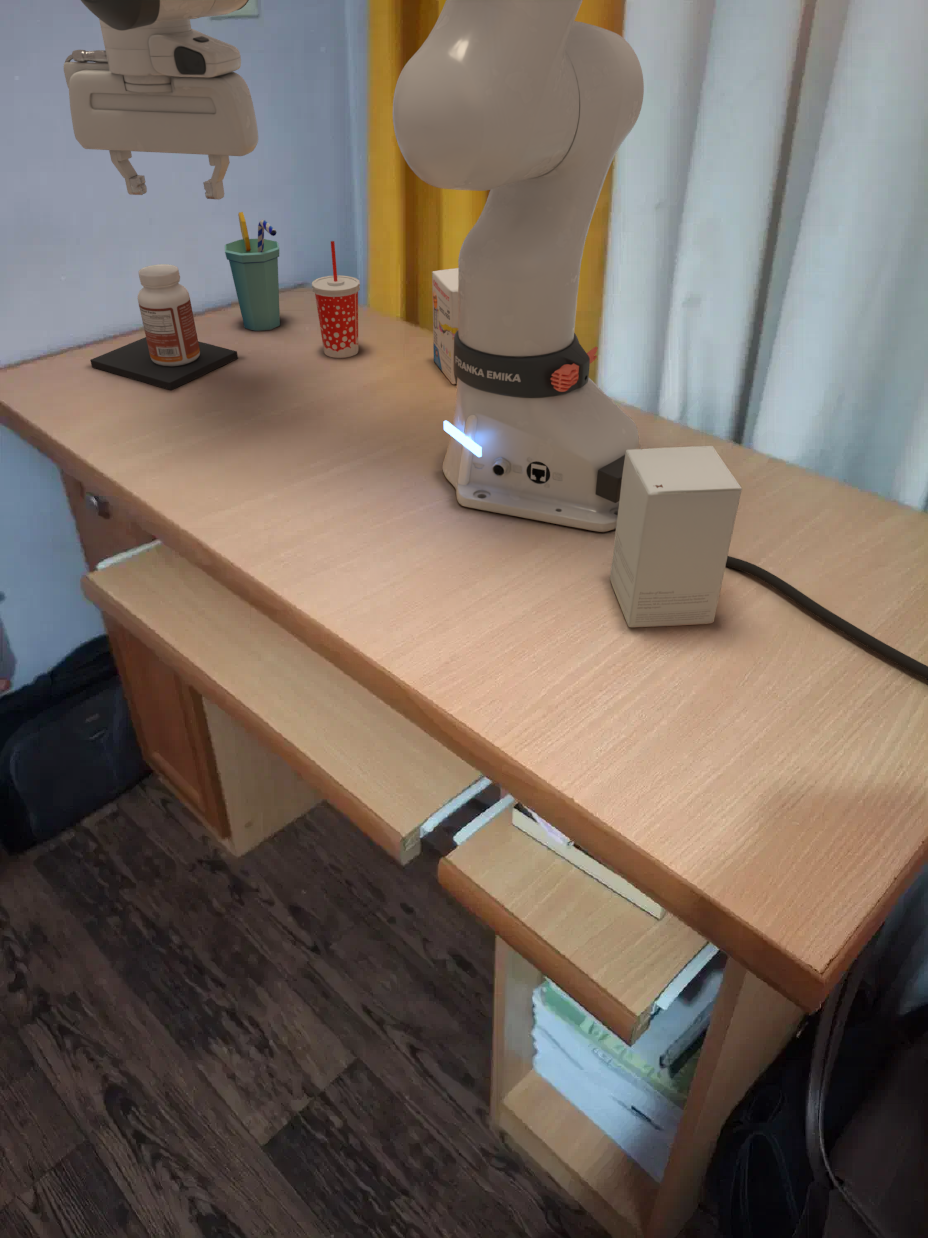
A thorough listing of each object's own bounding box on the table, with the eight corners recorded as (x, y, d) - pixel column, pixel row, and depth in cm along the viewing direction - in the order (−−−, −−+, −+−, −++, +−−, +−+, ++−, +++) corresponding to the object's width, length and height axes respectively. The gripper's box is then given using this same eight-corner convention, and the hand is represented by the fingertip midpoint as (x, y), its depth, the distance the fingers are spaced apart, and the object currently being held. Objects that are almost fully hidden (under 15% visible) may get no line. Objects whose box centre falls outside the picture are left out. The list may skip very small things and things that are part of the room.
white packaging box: (715, 625, 74) (745, 488, 67) (626, 629, 74) (645, 492, 66) (690, 574, 80) (715, 443, 73) (607, 577, 80) (623, 446, 72)
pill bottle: (187, 345, 120) (171, 258, 113) (209, 359, 116) (193, 270, 110) (142, 357, 117) (123, 268, 110) (163, 371, 113) (144, 280, 106)
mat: (238, 358, 119) (237, 350, 119) (171, 390, 111) (169, 382, 110) (161, 337, 125) (159, 330, 124) (91, 367, 117) (89, 359, 116)
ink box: (431, 360, 119) (429, 268, 112) (492, 352, 121) (494, 261, 114) (451, 385, 112) (451, 289, 105) (515, 377, 115) (519, 282, 107)
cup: (312, 335, 126) (300, 220, 117) (260, 346, 122) (244, 229, 113) (268, 306, 135) (255, 198, 126) (219, 317, 132) (201, 205, 122)
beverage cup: (334, 339, 125) (325, 232, 116) (373, 347, 122) (366, 238, 114) (309, 354, 120) (297, 244, 112) (348, 363, 118) (339, 250, 110)
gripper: (42, 52, 93) (77, 197, 102) (228, 57, 90) (249, 207, 98) (76, 45, 98) (106, 185, 106) (254, 50, 95) (271, 193, 103)
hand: (176, 195), depth 102 cm, fingers open, 8 cm apart
